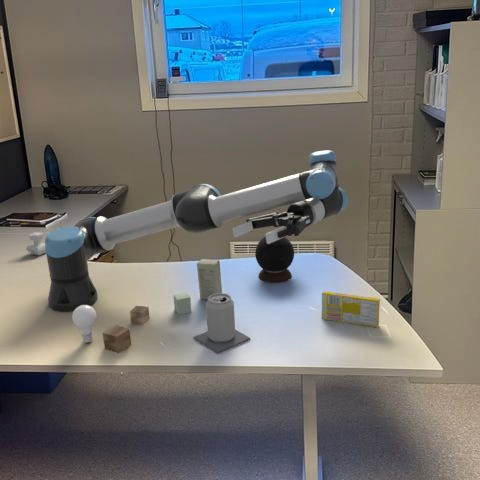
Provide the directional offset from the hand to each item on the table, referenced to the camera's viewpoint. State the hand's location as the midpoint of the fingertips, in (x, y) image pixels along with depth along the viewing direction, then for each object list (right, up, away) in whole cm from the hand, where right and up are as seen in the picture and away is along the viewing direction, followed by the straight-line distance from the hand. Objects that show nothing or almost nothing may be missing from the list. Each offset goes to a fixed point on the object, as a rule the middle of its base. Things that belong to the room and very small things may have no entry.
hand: (249, 235), depth 149 cm
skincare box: (-12, -19, +30) cm, 38 cm away
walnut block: (-35, -30, +2) cm, 47 cm away
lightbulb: (-44, -29, +5) cm, 53 cm away
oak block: (-32, -25, +16) cm, 44 cm away
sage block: (-20, -23, +21) cm, 37 cm away
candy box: (+29, -25, +11) cm, 39 cm away
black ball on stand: (+10, -14, +44) cm, 47 cm away
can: (-7, -28, +4) cm, 29 cm away
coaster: (-7, -28, +4) cm, 29 cm away
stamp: (-82, -7, +74) cm, 111 cm away
